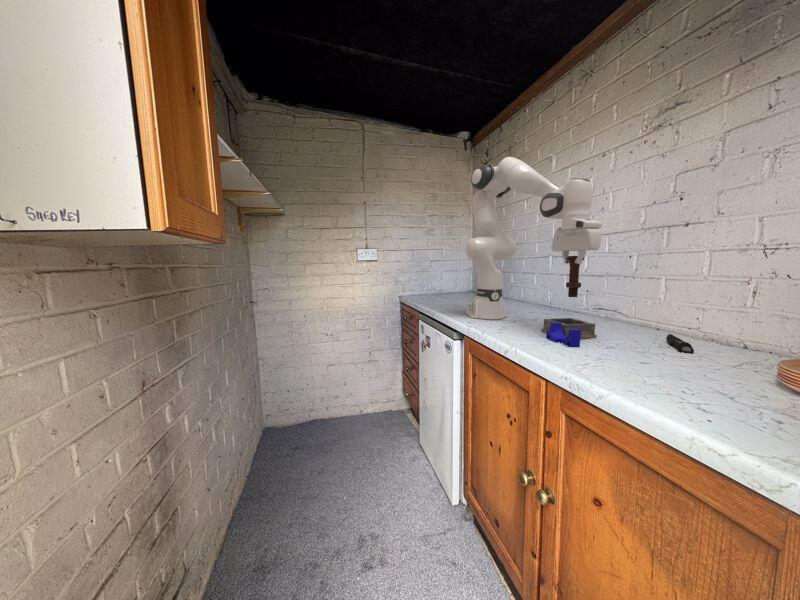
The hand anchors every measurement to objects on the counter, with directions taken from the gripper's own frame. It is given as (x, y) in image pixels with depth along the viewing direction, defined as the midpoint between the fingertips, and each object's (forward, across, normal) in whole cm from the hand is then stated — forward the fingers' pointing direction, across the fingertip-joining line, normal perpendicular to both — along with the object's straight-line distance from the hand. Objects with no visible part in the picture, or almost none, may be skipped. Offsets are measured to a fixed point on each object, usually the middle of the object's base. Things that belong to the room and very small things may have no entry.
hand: (572, 263), depth 112 cm
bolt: (+12, +1, 0) cm, 13 cm away
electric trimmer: (+27, +21, +24) cm, 42 cm away
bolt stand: (+27, 0, 0) cm, 27 cm away
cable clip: (+27, +9, -9) cm, 30 cm away
